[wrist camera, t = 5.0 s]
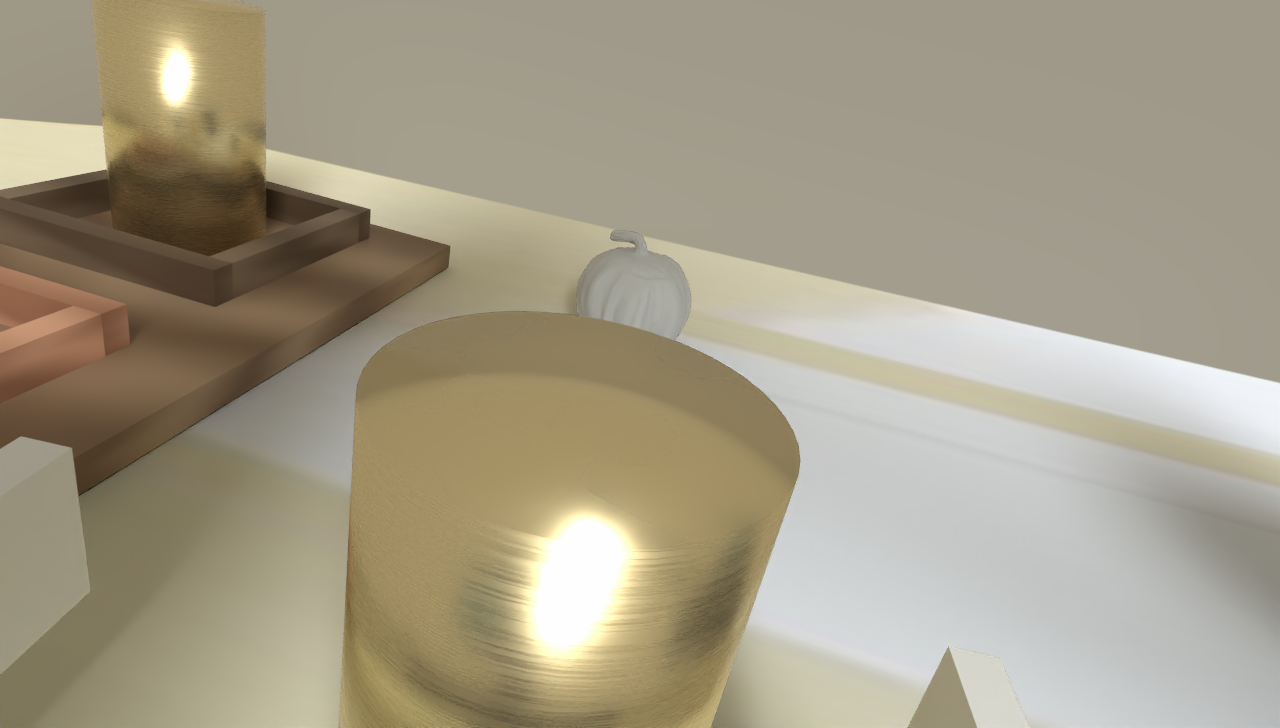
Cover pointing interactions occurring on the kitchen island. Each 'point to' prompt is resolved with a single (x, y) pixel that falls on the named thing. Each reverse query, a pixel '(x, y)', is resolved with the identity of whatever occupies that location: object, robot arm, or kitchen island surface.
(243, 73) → the cylinder
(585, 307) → the garlic
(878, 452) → the kitchen island surface
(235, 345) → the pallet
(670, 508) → the brass billet
